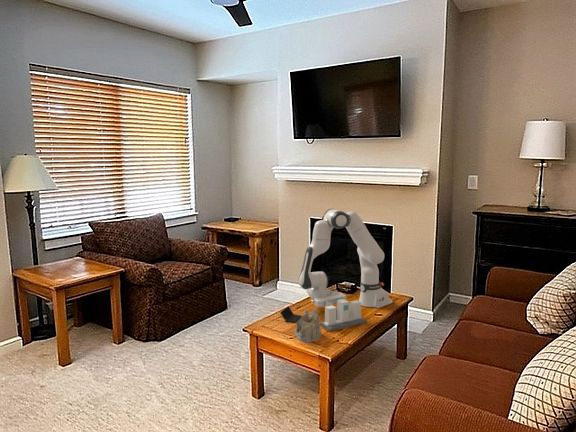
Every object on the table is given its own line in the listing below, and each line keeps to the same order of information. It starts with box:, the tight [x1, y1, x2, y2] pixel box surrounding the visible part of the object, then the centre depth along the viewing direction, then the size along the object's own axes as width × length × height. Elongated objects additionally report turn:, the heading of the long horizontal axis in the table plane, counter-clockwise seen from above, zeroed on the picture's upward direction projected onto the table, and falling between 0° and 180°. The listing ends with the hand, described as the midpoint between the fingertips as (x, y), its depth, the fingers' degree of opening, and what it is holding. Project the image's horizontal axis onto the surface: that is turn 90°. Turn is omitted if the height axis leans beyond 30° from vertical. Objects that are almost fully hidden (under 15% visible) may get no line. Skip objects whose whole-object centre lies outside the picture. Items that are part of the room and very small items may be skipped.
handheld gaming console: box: [279, 306, 303, 324], centre depth 254 cm, size 12×7×10 cm
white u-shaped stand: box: [319, 299, 367, 332], centre depth 245 cm, size 25×10×12 cm, turn 118°
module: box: [336, 299, 350, 322], centre depth 245 cm, size 4×6×11 cm
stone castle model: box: [294, 307, 322, 344], centre depth 230 cm, size 16×16×15 cm
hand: (337, 303), depth 249 cm, fingers open, 6 cm apart
